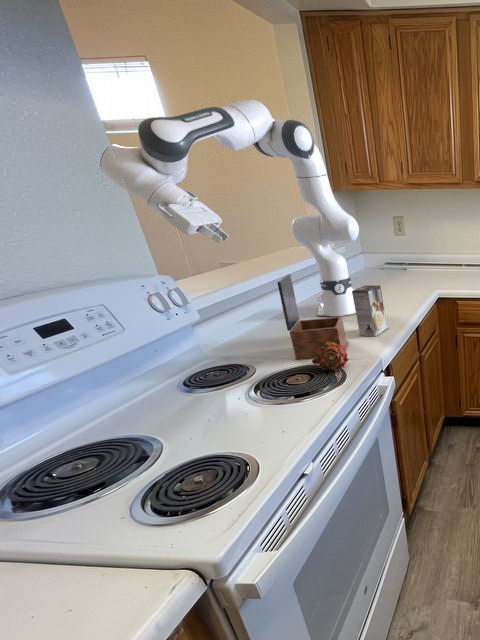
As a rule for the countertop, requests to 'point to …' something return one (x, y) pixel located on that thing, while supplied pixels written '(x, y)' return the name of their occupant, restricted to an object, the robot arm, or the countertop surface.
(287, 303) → the lid
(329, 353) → the dragon fruit
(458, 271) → the countertop surface
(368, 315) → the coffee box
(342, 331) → the chest
